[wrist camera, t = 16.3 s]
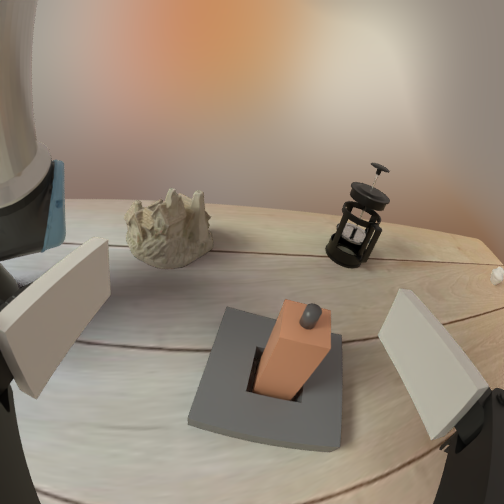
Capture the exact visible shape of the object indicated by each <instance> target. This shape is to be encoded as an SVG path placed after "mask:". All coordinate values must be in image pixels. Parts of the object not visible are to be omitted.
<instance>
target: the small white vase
mask: <svg viewBox="0 0 504 504" xmlns="http://www.w3.org/2000/svg"><path fill="white" fill-rule="evenodd" d="M503 276H504V269H503V268H502V267H498V268H496V269H493V270H492V273H491V278H490V281H491V283H492V284H493V285H497V284H499V283H501V282H502V281H503Z"/></svg>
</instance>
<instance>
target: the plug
mask: <svg viewBox="0 0 504 504" xmlns="http://www.w3.org/2000/svg"><path fill="white" fill-rule="evenodd" d="M330 349H331V310H327V309H323V308H320V307H319V306H318V305H316V304H312V303H311V304H308V305H306V304H302V303H298V302H294V301H291V300H287V299H285V301H284V303H283V306H282V308H281V311H280V313H279V316H278V318H277V321H276V323H275V326H274V328H273V330H272V333H271V335H270V338H269V340H268V342H267V345H266V347H265V349H264V352H263V354H262V356H261V359H260V361H259V363H258V366H257V371H256V375H255V380H254V384H253V389H252V393H255V394H259V395H264V396H268V397H273V398H278V399H283V400H288V401H290V400H291V399H292V398H293V397H294V395H295V394H296V393H297V392H298V391H299V389H300V388H301V387H302V386H303V384H304V383H305V382H306V381H307V379H308V378H309V377H310V376H311V374H312V373H313V372H314V371H315V369H316V368H317V367H318V365H319V364H320V363H321V361H322V360H323V359H324V357H325V356H326V355H327V353H328V352H329V351H330Z"/></svg>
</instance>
